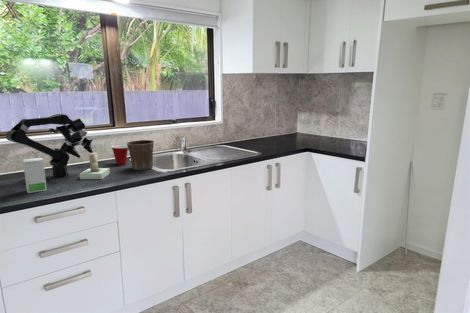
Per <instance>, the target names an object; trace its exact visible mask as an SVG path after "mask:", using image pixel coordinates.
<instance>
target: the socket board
mask: <svg viewBox="0 0 470 313" xmlns="http://www.w3.org/2000/svg"><path fill="white" fill-rule="evenodd" d="M98 169H99V171H98V172H91V168H90V167H89V168H87V169H85V170H84V171H82V172H80V173H79V180H103V179H104V178H105V177H107V176H108V175H110V174H111V171H110V167H106V168H105V167H104V168H103V167H98Z"/></svg>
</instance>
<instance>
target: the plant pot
mask: <svg viewBox="0 0 470 313" xmlns="http://www.w3.org/2000/svg"><path fill="white" fill-rule="evenodd" d="M154 143H155V141H154V140H151V139H140V140H132V141H128V142H126V146H128V152H129V156H130V164H131V168H132V169H133V170H135V171H144V170H150V169H152V168H153V166H154V160H153V159H154Z"/></svg>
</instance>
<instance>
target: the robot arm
mask: <svg viewBox="0 0 470 313" xmlns="http://www.w3.org/2000/svg"><path fill="white" fill-rule="evenodd" d="M45 125H46V126H48V125H56V127H55V133H60V134H61V135H62V137H63V138H64V141H65V142H63V143H62V144H61V146H60V148H57V147H55V148H54V149H53V148H50V147H49V146H46V145H44V144H42V143H40V142H38V141H35V140H33V139H31V138H30V137H29V136H28V135H27V133H28V131H29V129H30V128H31V127H36V126H45ZM57 125H60V126H57ZM87 134H88V131H87V130H86V124H85V123H84V122H83V120H82V119H81V118H76V119H74V120H72V119H71V118H69V115H67V114H64V113H57V114H56V113H55V114H54V115H52V114H51V116H47V117H45V116H43V117H36V118H35V117H34V118H22V119H21V120H20V121H19V122H18V123H16V125H14V126H13V127H12V128H11V129H10V130H8V131H7V132H6V133H5V138H6V140H8V141H9V142H13V143H16V144H20V145H24V146H26V147H29V148H31V149H32V150H35V151H37V152H39V153H42V154H44V155H47V156H48V157H50V158H51V159H50V161H49V164H50V166H51V169H52V176H51V178H65V177H66V176H69V172H68V167H67V166H68V163H69V160H70V155H71V156H74V157H76V158H78V159H80V158H81V154H79V153H78V151H77V150H76V148H75V147H77V146H82V147H83V149H85V151H87V152H88V154H90V153H94V150H93V148H92V142H93V141H94V140H93V138H92V136H87Z"/></svg>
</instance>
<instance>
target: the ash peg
mask: <svg viewBox="0 0 470 313" xmlns="http://www.w3.org/2000/svg"><path fill="white" fill-rule="evenodd" d="M88 156H89V168H91V172H98V171H99V169H98V168H99V162H98V153H97V152H93V153H88Z"/></svg>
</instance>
